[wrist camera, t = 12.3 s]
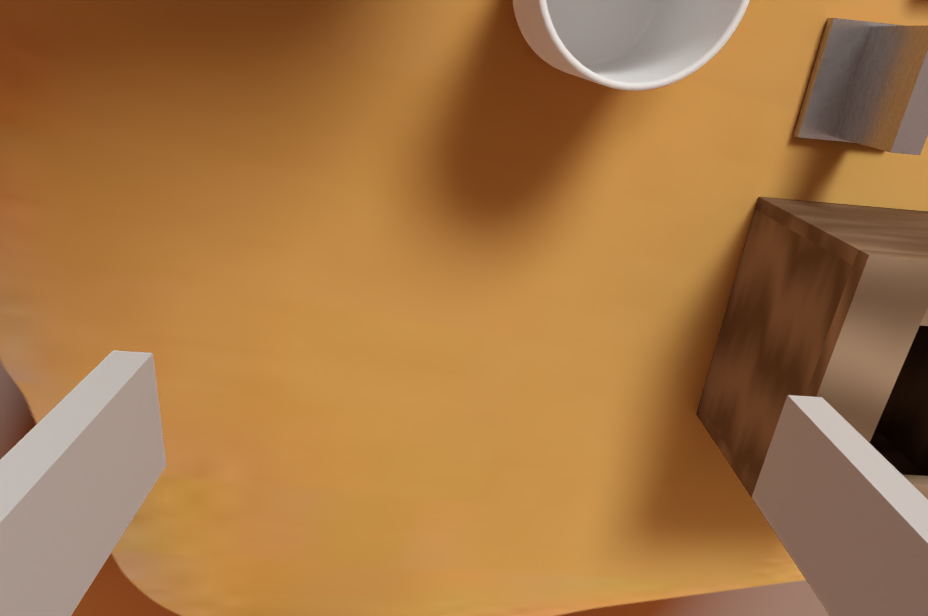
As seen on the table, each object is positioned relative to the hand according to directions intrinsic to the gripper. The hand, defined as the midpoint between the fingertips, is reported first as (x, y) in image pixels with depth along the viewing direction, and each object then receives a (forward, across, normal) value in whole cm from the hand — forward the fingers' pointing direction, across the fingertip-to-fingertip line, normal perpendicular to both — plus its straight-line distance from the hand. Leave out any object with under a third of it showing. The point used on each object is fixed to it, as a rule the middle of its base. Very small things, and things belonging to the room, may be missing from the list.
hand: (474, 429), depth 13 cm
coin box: (+27, +26, -8) cm, 38 cm away
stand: (+27, +23, +7) cm, 36 cm away
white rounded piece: (+27, +8, +11) cm, 30 cm away
